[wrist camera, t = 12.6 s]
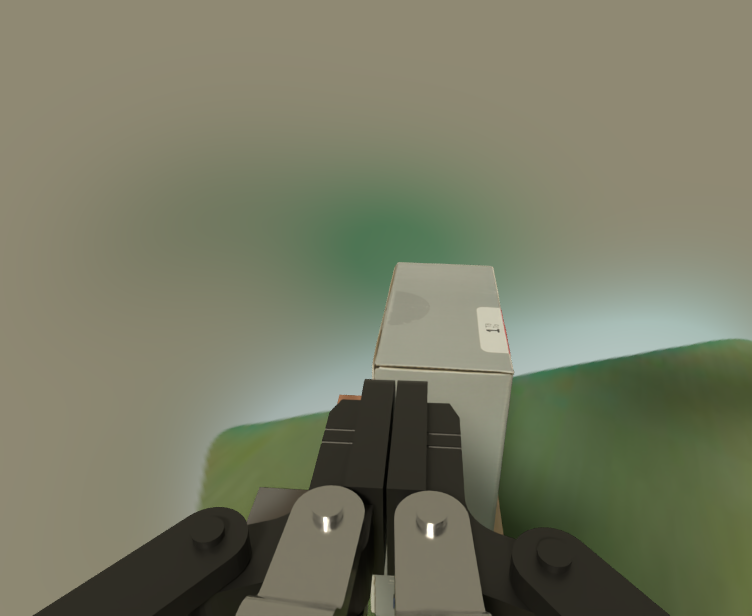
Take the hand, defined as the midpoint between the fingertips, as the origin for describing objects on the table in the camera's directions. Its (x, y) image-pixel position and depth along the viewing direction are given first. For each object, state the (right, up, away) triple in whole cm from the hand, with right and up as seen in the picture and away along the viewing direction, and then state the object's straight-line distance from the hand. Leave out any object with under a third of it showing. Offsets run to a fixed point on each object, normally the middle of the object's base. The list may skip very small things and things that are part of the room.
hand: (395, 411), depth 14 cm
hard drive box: (+4, -15, +31) cm, 35 cm away
